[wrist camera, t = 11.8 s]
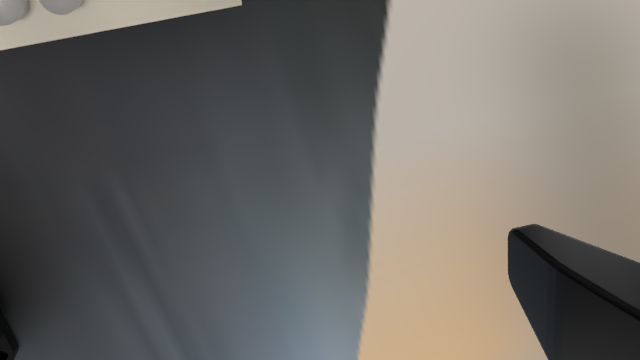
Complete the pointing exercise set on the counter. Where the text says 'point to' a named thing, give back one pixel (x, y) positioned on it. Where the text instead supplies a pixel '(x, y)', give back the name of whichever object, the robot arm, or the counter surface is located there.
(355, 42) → the counter surface
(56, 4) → the block
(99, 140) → the counter surface
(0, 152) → the counter surface
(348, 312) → the counter surface
